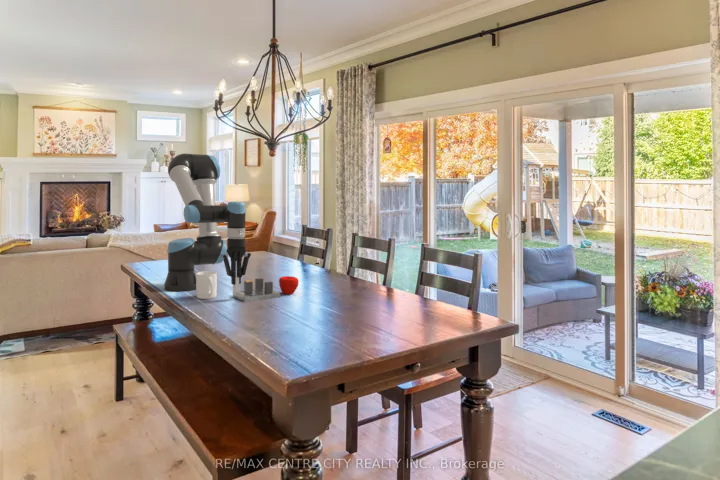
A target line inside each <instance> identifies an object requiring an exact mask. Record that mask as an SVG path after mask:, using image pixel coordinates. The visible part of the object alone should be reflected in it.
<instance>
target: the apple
mask: <svg viewBox="0 0 720 480" xmlns="http://www.w3.org/2000/svg"><path fill="white" fill-rule="evenodd" d="M278 279H279V280H278V284H279V287H280V288H279V289H280V291H281V293H282V294H283V295H293V294H294V293H295V292H296V291H297V288H298V286H299V279H298V277H296V276H287V275H285V276H281V277H280V278H278Z"/></svg>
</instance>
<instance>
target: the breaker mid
mask: <svg viewBox="0 0 720 480" xmlns="http://www.w3.org/2000/svg"><path fill="white" fill-rule="evenodd" d="M253 283H254V282H253V281H252V280H244V283H243V285H244V286H243V287H244V289H243V291H244V293H246V294H249V293H253V290H254V289H253V288H254V287H253V285H254V284H253Z"/></svg>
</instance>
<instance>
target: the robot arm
mask: <svg viewBox="0 0 720 480" xmlns="http://www.w3.org/2000/svg"><path fill="white" fill-rule="evenodd" d="M167 174H168V176H169V178H170V180H171V181H172V182H174V184H175V186H176V188H177V190H178V193H179V195H180V196H181V197H180V198H181V199H182V202H183V203H184V204H183V205H184V208H183V219H184V221H185V222H186V223H187V224H188V223H189V224H190V223H191V224H198V232H199V234H198V235H197V236H196V239H194V238H193V237H185V238H177V239H174V240H171V241H169V242H168V245H167V274H166V278H165V280H164V285H163V287H164V290H165V291H169V292H187V291H193V290H196V273H195V272H196V271H195V266H203V265H205V266H206V265H215V264H221V263H223V262H224V263H223V264H224V268H225V272H226V276H229V277H230V278H231V279H230V280H231V283H230V284H231V285H232V286H233V287H232V288H233V289H232V292H239V291H240V285H241V283H242V277H243V276H245V275H246V272H247V268H248V263H249V260H250V257H251V256H252V254H251V253H250V252H248V251H247V249H246V238H245V237H246V213H247V212H246V211H247V210H246V203H245V202H244V201H229V202H227V204H222V205H221V204H220V205H216V196H215V195H216V194H215V184H216V183H217V180H218V179H220V177H221V165H220V163H219V160H218V159H217V157H216V156H215V155H210V154H196V153H194V154H193V153H180V154H177V155H175V156H174V157H173V158H172V159H171V160H170V162H169V163H168V166H167ZM218 223H226V224H227V226H226V227H227V229H226V231H227V232H226V234H227V235H226V236H227V240H225V239H222V235H221V234H220V233H218V232H219V231H218ZM226 241H227V242H226ZM229 259H230V261H229Z"/></svg>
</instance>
